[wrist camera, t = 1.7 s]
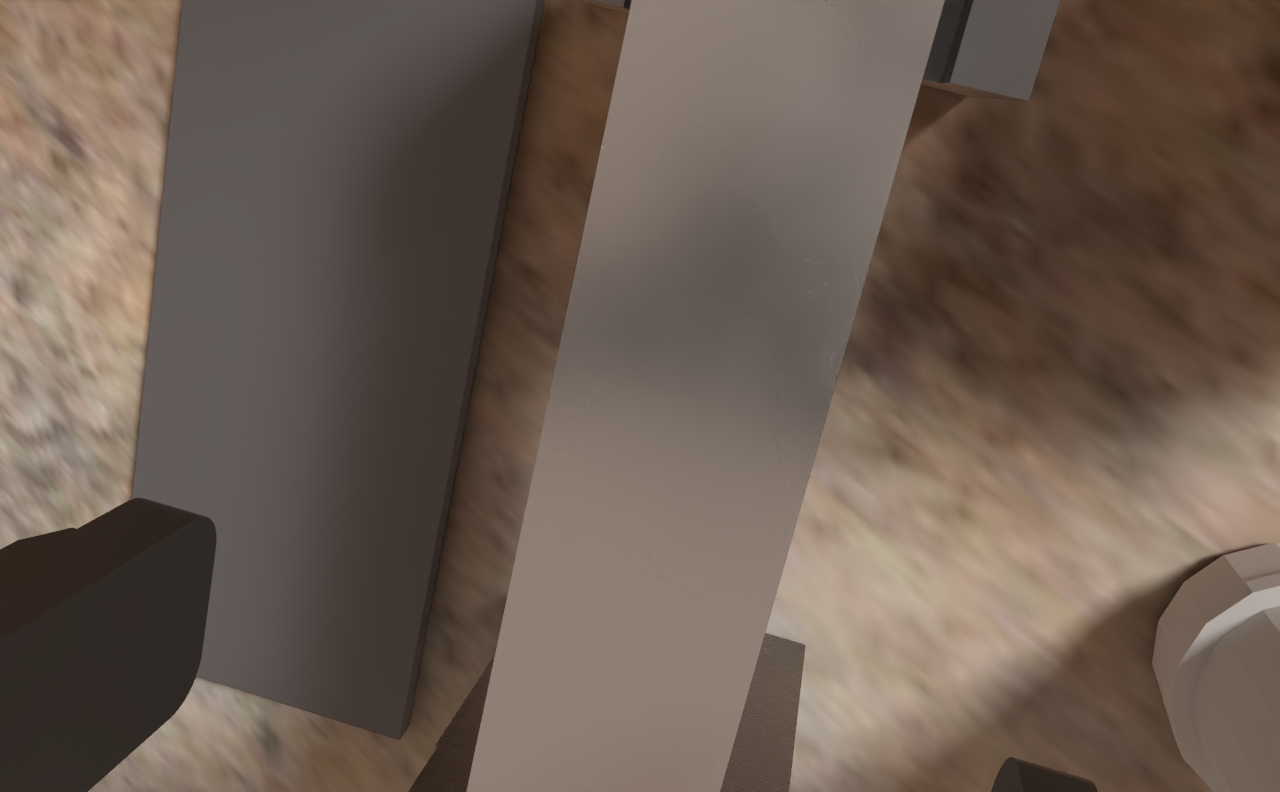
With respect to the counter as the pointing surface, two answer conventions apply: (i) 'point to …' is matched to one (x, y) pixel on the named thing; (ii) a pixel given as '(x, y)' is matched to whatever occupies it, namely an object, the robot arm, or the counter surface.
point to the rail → (694, 382)
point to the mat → (327, 322)
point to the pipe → (1225, 670)
